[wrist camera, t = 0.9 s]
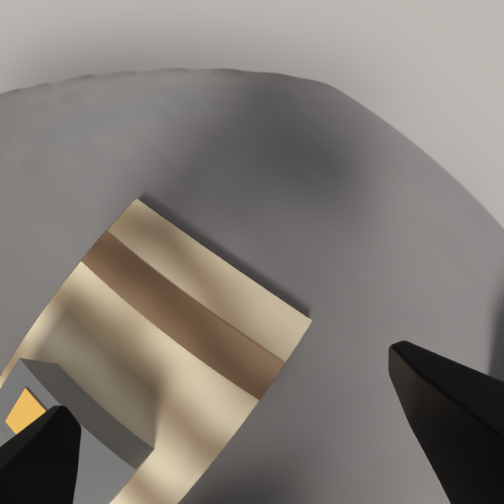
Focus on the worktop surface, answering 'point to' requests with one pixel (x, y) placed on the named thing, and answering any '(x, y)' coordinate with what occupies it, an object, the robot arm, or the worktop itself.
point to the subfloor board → (165, 345)
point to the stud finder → (90, 418)
